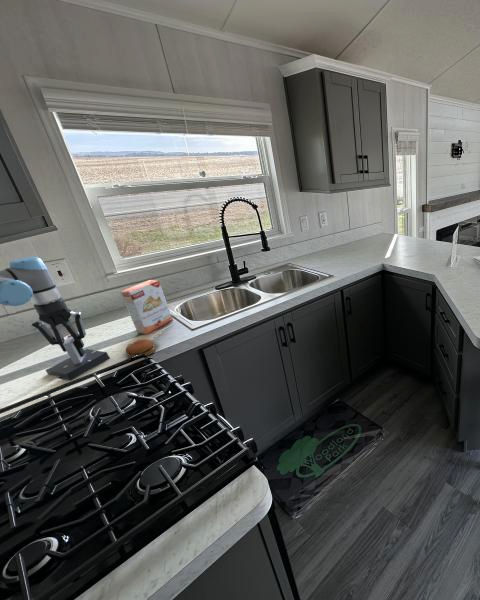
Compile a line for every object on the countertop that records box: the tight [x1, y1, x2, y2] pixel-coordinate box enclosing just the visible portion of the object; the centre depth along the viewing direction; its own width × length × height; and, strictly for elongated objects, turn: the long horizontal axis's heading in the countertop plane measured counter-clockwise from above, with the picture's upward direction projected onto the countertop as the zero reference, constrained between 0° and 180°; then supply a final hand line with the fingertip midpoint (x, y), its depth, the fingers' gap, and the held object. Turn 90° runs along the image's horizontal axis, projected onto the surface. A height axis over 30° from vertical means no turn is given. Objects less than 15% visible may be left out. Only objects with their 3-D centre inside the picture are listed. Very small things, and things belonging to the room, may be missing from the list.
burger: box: [125, 338, 157, 359], centre depth 132 cm, size 10×9×5 cm
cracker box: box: [119, 279, 174, 335], centre depth 149 cm, size 14×6×21 cm, turn 165°
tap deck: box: [45, 348, 111, 382], centre depth 125 cm, size 14×11×3 cm
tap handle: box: [63, 334, 85, 364], centre depth 123 cm, size 7×2×9 cm, turn 31°
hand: (78, 356), depth 125 cm, fingers closed on tap handle, 2 cm apart
